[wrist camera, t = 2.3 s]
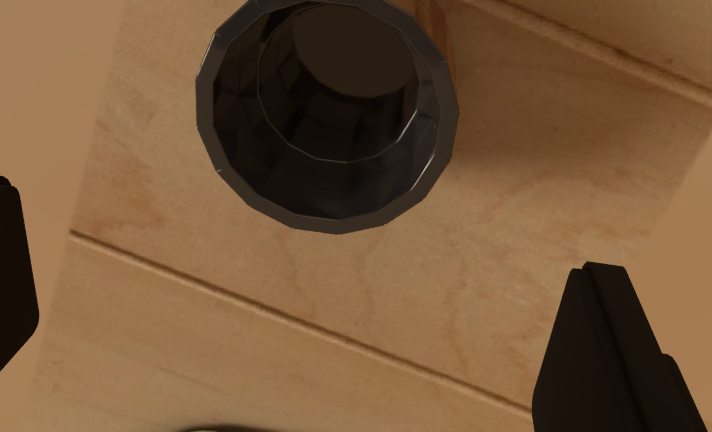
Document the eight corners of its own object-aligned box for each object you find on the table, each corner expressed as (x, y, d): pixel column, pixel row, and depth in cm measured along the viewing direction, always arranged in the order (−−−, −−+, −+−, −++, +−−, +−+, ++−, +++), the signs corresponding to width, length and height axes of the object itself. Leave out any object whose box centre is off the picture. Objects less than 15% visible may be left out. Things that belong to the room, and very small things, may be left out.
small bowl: (248, 139, 25) (198, 216, 19) (251, -62, 21) (192, -34, 16) (435, 164, 24) (435, 248, 19) (468, -37, 21) (480, 0, 16)
